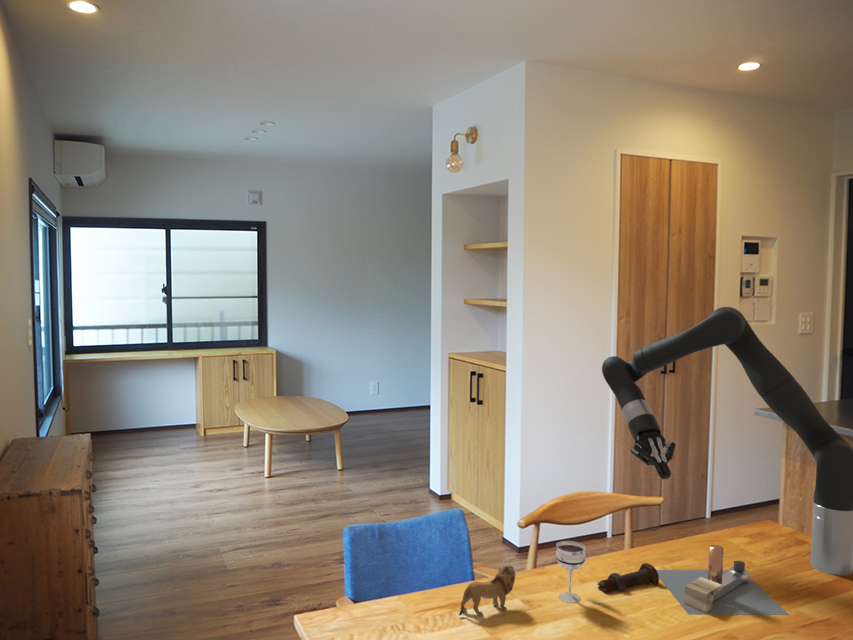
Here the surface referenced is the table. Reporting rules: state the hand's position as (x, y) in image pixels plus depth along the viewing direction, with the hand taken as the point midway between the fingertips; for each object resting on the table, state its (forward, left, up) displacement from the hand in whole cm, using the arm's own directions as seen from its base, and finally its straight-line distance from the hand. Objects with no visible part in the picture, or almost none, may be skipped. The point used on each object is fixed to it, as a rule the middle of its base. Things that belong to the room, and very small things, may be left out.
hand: (666, 477), depth 173 cm
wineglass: (+33, -9, -23) cm, 41 cm away
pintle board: (+9, +16, -22) cm, 29 cm away
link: (+7, +17, -21) cm, 28 cm away
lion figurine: (+50, -20, -23) cm, 58 cm away
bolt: (+20, -1, -23) cm, 31 cm away
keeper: (+17, +16, -21) cm, 32 cm away
